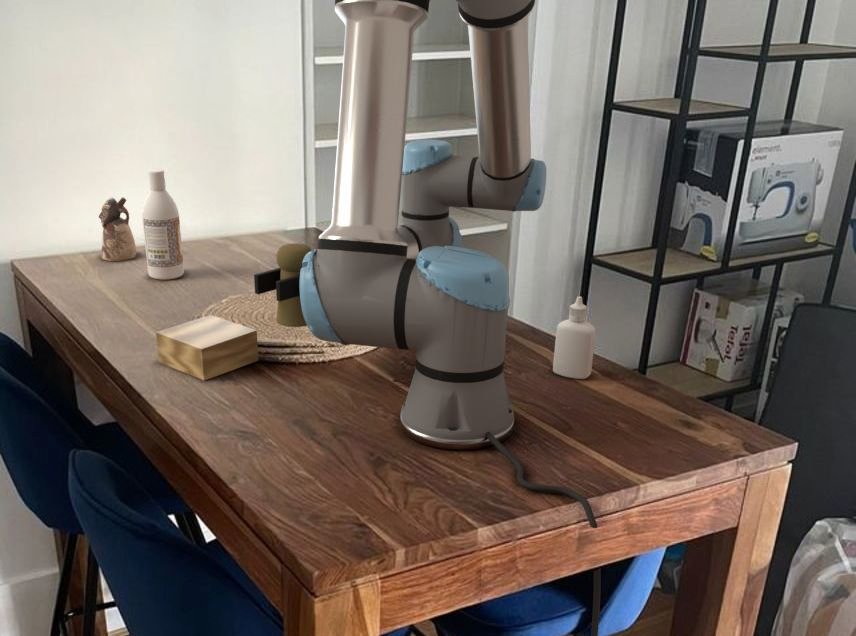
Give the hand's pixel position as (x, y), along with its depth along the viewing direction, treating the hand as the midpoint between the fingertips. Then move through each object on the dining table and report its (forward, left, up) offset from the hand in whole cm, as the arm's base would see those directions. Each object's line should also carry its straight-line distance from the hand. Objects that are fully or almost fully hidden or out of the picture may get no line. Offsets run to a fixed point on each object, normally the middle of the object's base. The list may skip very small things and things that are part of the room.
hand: (267, 287), depth 142 cm
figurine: (+79, -10, -15) cm, 81 cm away
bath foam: (+61, -12, -15) cm, 64 cm away
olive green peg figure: (+1, -5, -6) cm, 8 cm away
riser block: (+15, +3, -15) cm, 21 cm away
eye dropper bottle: (-22, -39, -15) cm, 48 cm away
